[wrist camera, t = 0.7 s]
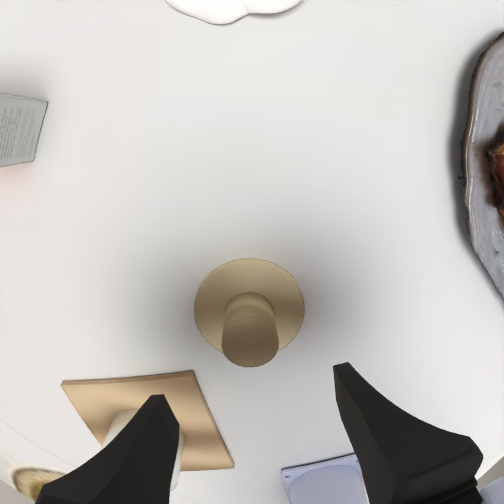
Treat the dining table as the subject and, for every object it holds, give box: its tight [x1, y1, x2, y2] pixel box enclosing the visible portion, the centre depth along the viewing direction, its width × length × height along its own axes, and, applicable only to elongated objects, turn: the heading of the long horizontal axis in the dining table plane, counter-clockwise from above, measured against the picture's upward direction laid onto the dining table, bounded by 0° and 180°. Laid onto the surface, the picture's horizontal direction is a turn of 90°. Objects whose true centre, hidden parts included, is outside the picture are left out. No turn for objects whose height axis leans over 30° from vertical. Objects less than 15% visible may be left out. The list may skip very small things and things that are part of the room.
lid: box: [194, 259, 304, 367], centre depth 19 cm, size 7×7×4 cm
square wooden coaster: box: [60, 371, 234, 471], centre depth 24 cm, size 12×12×1 cm
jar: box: [101, 409, 185, 491], centre depth 21 cm, size 6×6×4 cm
